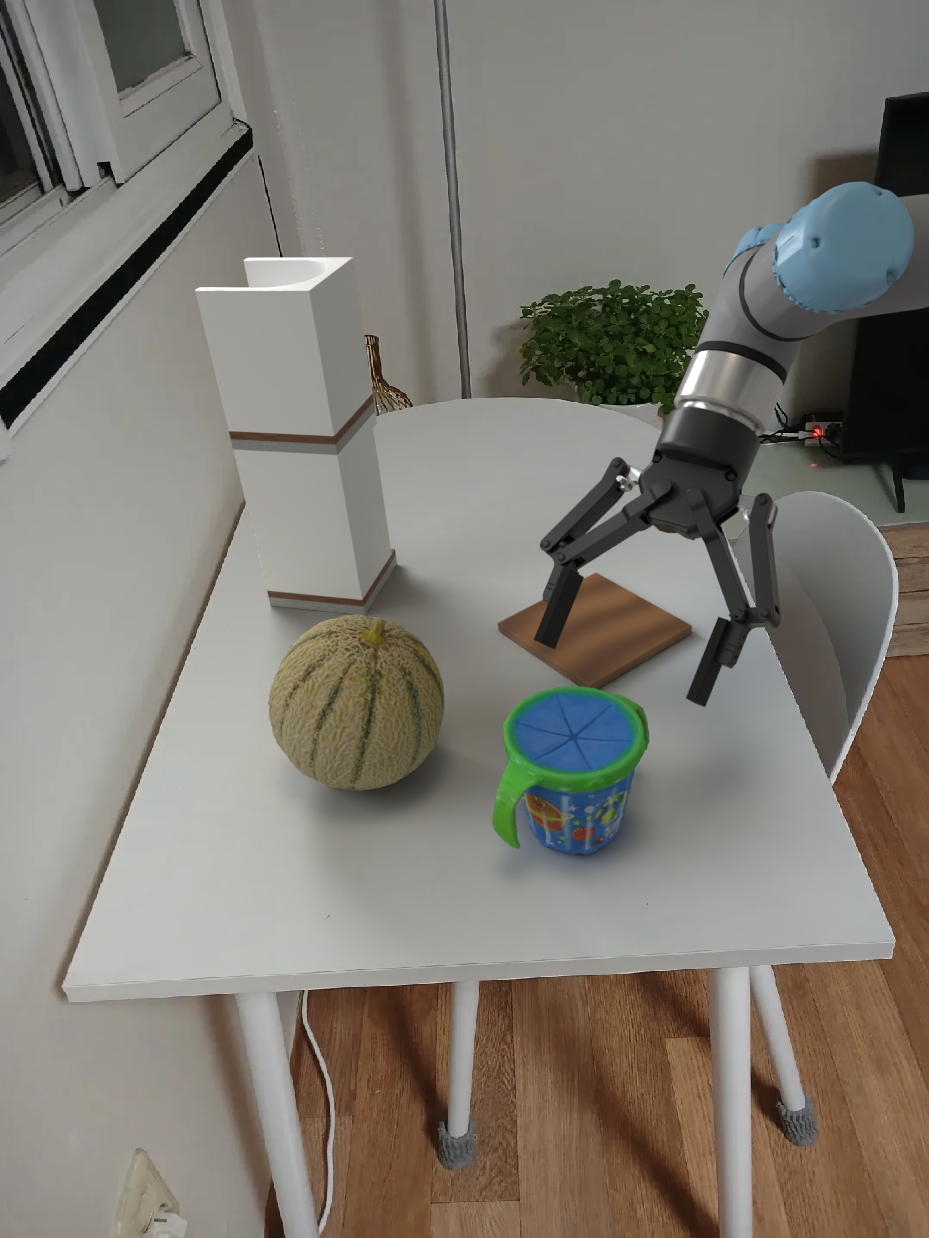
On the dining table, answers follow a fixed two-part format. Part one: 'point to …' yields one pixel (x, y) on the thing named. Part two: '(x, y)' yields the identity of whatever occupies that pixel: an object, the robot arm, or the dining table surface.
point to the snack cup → (570, 767)
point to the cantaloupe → (357, 702)
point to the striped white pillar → (303, 429)
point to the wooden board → (599, 633)
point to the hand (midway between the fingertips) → (615, 673)
